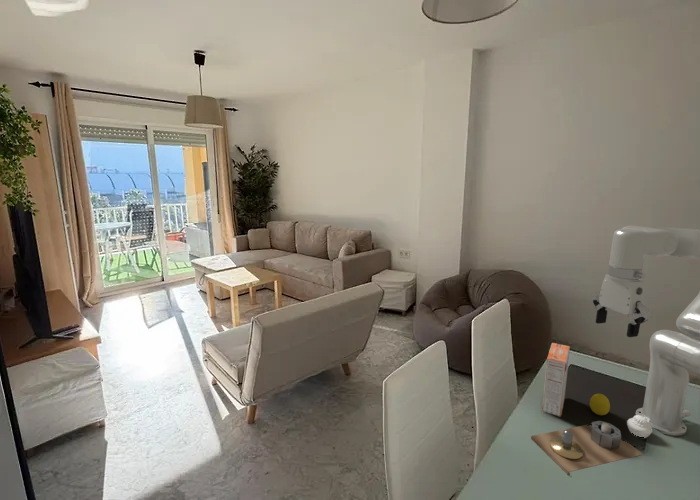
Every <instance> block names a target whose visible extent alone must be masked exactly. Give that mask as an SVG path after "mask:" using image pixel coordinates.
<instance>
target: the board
mask: <svg viewBox="0 0 700 500" xmlns="http://www.w3.org/2000/svg"><path fill="white" fill-rule="evenodd" d="M587 425H588V424H584V425H580V426H579V425H578V426H575V427H570V428H564V429H558V430H554V431H550V432H549V431H548V432H544V433H540V434H539V433H538V434H535V435H531V437H530V440H531V441H532V442H533V443H535V444H536V445H537V446H538V447H539V448H540V449H541V450H542V451H543V452H544V453H545V454H546V455H547V457H549V459H551V460H552V461H553V462H554V463H555V464H556V465H557V466H558V467H559V468H560V469H561V470H562V471H563V472H564V473H565V474H567V475H568V476H569V475H571V473H570V472H575V471H578V470H583V469H588V468H591V467H595V466H596V467H597V466H600V465H603V464H608V463H609V464H610V463H613V462H617V461H621V460H625V459H629V458H630V459H631V458H635V457H638V456H642V455H644V453H643V452H642V451H640V450H639V449H637V448H636V447H634V446H633V445H632V444H630V442H628V441H626V440H625V441H626V442H625V441H622V440H621V441H620V447H619V448H618V449H613V450H610V449H607V448H604V447H601V446H599V445H597V444H596V443H595V442H594V441H592V440H591V435H590V433H591V425H590V426H587ZM611 428H612V427H611V426H610V425H608V424H605V423H603V424H602V426H601V431H603V432H605V433H608V434H611ZM564 430H569V431H571V432H572V434H573V441H574V442H576V443H577V444H578V445H580V447H581V448H582V450H583V457H582V458H581V459H579V460H569V459H566V458H563V457H561V456H559V455H557V454H556V453H555V452H554V451H553V450H552V449H551V447H550V439H551V438H553V437H557V436H560V437H562V433H563V431H564ZM627 442H628V443H627Z"/></svg>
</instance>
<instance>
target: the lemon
mask: <svg viewBox="0 0 700 500" xmlns="http://www.w3.org/2000/svg"><path fill="white" fill-rule="evenodd" d="M589 407H590V409H591V411H592V412H593V413H594V414H596V415H598V416H605V415H608V413H609V411H610V408H611V405H610V400H609V398H608V397H607V396H606V395H604V394H602V393H595V394H593V395H592V396H591V397H590V399H589Z"/></svg>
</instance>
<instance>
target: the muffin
mask: <svg viewBox="0 0 700 500" xmlns="http://www.w3.org/2000/svg"><path fill="white" fill-rule="evenodd" d="M626 425H627V428H628V430H629V432H630V433H631V434H632V433H633V434H634V435H633V434H632V435H633V436H635V435H636V436H635V437H637V436H639V437H644V438H643V439H647V438H648V437H650V435H651V434H652V433H653V427H651V426H650V425H649V423H648V420H647V419H646V418H645V417H643V416H641V415H636V414H635V415H634V416H633V417H630V418H628V420H626ZM639 437H638V438H639Z"/></svg>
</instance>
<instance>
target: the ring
mask: <svg viewBox="0 0 700 500" xmlns="http://www.w3.org/2000/svg"><path fill="white" fill-rule="evenodd" d="M603 423H605V424H608V425H610V426H611V427H612V428H611V434H608V433H605V432H603V431H601V426H602V424H603ZM591 424H592V426H591V433H590V435H591V440H592V441H594V442H595V443H596V444H597V445H599V446H601V447H604V448H607V449H610V450H613V449H618V448H619V447H620V441H621V438H622V434H621V433H622V432H621V430H620V429H619V428H617V427H616V426H615V425H613V424H611V423H609V422H606V421H602V420H597V421H595V420H594V421H592V422H591Z"/></svg>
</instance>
